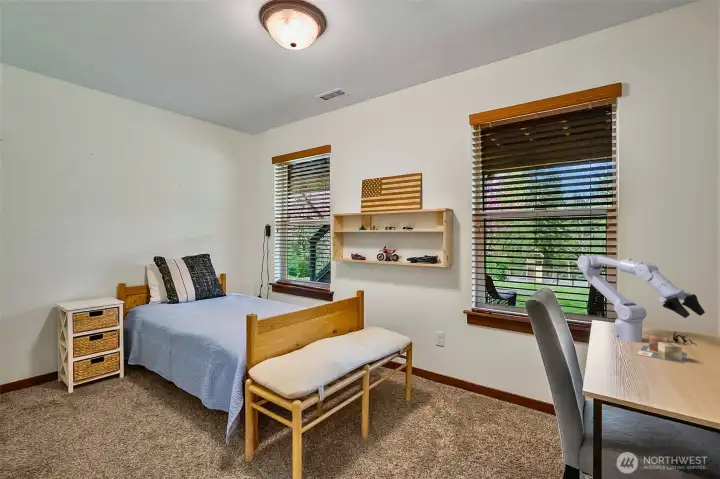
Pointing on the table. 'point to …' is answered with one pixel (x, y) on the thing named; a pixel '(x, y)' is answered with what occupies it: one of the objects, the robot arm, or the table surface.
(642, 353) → the build board
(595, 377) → the table surface
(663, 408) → the table surface
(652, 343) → the rust block
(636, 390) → the table surface
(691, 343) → the creature
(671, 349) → the maple block
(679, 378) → the table surface
